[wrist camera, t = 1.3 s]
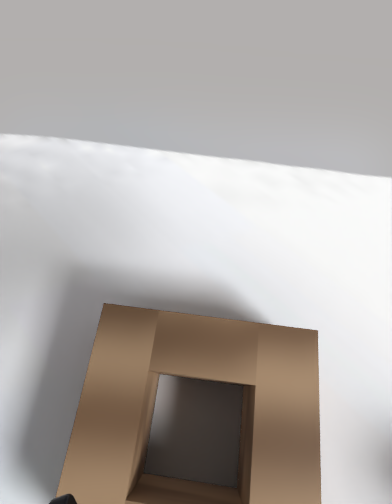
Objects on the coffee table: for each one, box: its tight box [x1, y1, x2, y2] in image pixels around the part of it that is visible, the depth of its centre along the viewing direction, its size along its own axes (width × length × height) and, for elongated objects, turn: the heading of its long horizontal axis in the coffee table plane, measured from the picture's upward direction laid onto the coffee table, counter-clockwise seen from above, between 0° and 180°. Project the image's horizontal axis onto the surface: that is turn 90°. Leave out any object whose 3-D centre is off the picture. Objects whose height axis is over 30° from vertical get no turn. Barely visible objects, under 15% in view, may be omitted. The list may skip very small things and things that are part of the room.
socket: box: [56, 303, 321, 504], centre depth 18 cm, size 12×12×5 cm
